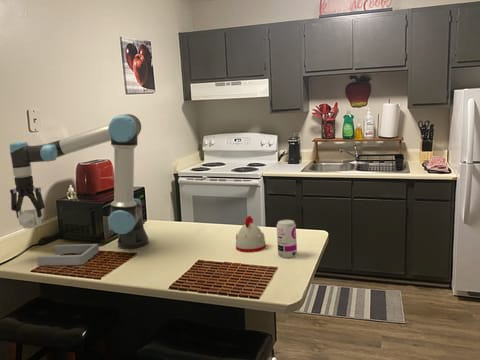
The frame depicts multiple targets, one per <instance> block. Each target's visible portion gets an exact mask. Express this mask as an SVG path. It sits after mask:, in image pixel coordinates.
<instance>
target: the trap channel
mask: <svg viewBox="0 0 480 360" xmlns="http://www.w3.org/2000/svg"><path fill="white" fill-rule="evenodd" d="M53 248H54V254H55V255H38V256H37V257H36V261H37V266H38V267H42V266H45V265H50V266H83V264H84V265H86V263H88V262H89V261H90V260H91V259H92V258H93V257H94V255H97V254H98V253H99V252H100V249H99V243H83V244H56V245H54V246H53ZM68 253H75V254H68ZM66 254H67V255H66ZM89 259H90V260H89ZM88 260H89V261H88Z"/></svg>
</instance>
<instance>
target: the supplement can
mask: <svg viewBox="0 0 480 360" xmlns="http://www.w3.org/2000/svg"><path fill="white" fill-rule="evenodd" d="M276 236H277V237H276V239H277V255H278V256H279V257H280V258H283V259H292V258H295V257H296V256H297V255H298V249H297V248H298V246H297V225H296V222H295V220H292V219H281V220H278V221H277V223H276Z"/></svg>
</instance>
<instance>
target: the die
mask: <svg viewBox="0 0 480 360" xmlns="http://www.w3.org/2000/svg"><path fill="white" fill-rule="evenodd" d="M35 210H36V209H26V210H23V213H22V214H21V215H20V217H19V218H17V220H18V222H19V221H20V223H21V224H22V225H21V227H23V228H24V229H29V228H34V227H36V226H37V223H36V217H35Z"/></svg>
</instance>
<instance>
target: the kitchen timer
mask: <svg viewBox="0 0 480 360" xmlns="http://www.w3.org/2000/svg"><path fill="white" fill-rule="evenodd" d="M265 239H266V238H265V234H264V232H262V229H261V228H259V226H258V225H257V224H255V223H254V219H253V217H252V216H251V215H247V218H245V221H244V224H243V225H242V226H241V228H239V231H238V232H237V233H236V234H235V250H236V251H239V252H241V253H257V252H261V251H263V250H265V249H266V247H267V246H266V245H267V244H266V240H265Z"/></svg>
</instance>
